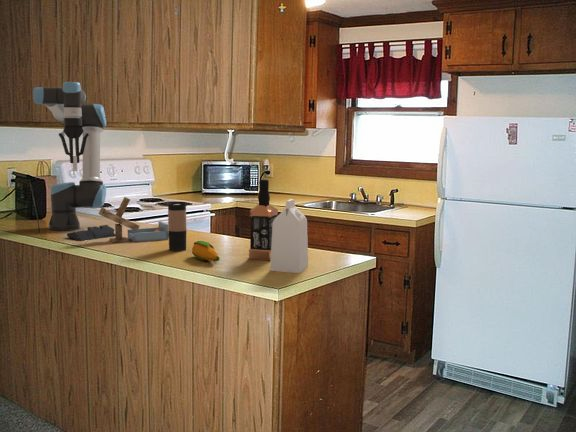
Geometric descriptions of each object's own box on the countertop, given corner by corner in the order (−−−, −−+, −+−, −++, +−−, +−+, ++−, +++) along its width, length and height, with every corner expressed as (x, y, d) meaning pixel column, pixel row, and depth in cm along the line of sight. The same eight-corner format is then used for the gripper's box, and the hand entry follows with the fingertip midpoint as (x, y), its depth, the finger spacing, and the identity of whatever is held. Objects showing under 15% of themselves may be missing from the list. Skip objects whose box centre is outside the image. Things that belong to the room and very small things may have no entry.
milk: (279, 263, 241) (280, 197, 237) (308, 266, 237) (309, 199, 234) (269, 270, 229) (270, 201, 225) (299, 273, 226) (300, 202, 222)
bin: (134, 242, 281) (133, 227, 280) (127, 237, 292) (127, 223, 291) (168, 239, 289) (168, 224, 288) (160, 235, 299) (160, 221, 298)
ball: (156, 228, 294) (158, 235, 295) (151, 230, 291) (153, 237, 292) (162, 228, 292) (163, 235, 293) (157, 230, 290) (158, 237, 290)
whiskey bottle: (271, 261, 245) (272, 180, 240) (248, 259, 248) (248, 180, 243) (278, 255, 255) (279, 178, 250) (256, 254, 258) (256, 178, 253)
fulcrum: (113, 242, 279) (112, 226, 278) (109, 240, 285) (109, 224, 284) (128, 241, 283) (128, 225, 282) (124, 239, 289) (124, 223, 288)
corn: (203, 236, 255) (225, 244, 238) (205, 254, 256) (226, 263, 239) (187, 239, 251) (207, 247, 234) (188, 257, 252) (209, 267, 235)
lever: (101, 215, 275) (113, 191, 276) (97, 213, 283) (109, 189, 284) (137, 231, 284) (148, 208, 285) (132, 228, 292) (143, 205, 293)
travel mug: (166, 248, 267) (166, 203, 264) (184, 247, 270) (183, 202, 267) (170, 252, 260) (170, 205, 257) (188, 250, 263) (188, 204, 260)
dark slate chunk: (62, 238, 291) (61, 228, 291) (102, 232, 308) (102, 223, 307) (79, 242, 282) (79, 232, 281) (120, 236, 298) (120, 226, 298)
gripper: (58, 117, 267) (61, 171, 271) (89, 117, 273) (91, 170, 277) (56, 117, 274) (58, 170, 277) (86, 117, 280) (88, 169, 283)
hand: (75, 170), depth 277 cm, fingers closed
